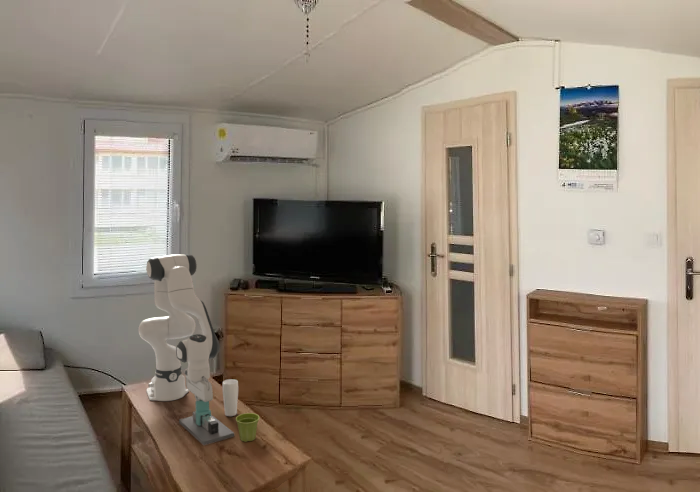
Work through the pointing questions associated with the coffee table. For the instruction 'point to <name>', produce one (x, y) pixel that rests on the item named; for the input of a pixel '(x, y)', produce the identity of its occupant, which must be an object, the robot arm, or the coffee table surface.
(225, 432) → the plate
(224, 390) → the white cup
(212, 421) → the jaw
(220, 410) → the coffee table surface
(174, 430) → the coffee table surface
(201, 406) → the collar
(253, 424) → the plant pot
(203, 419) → the jaw
